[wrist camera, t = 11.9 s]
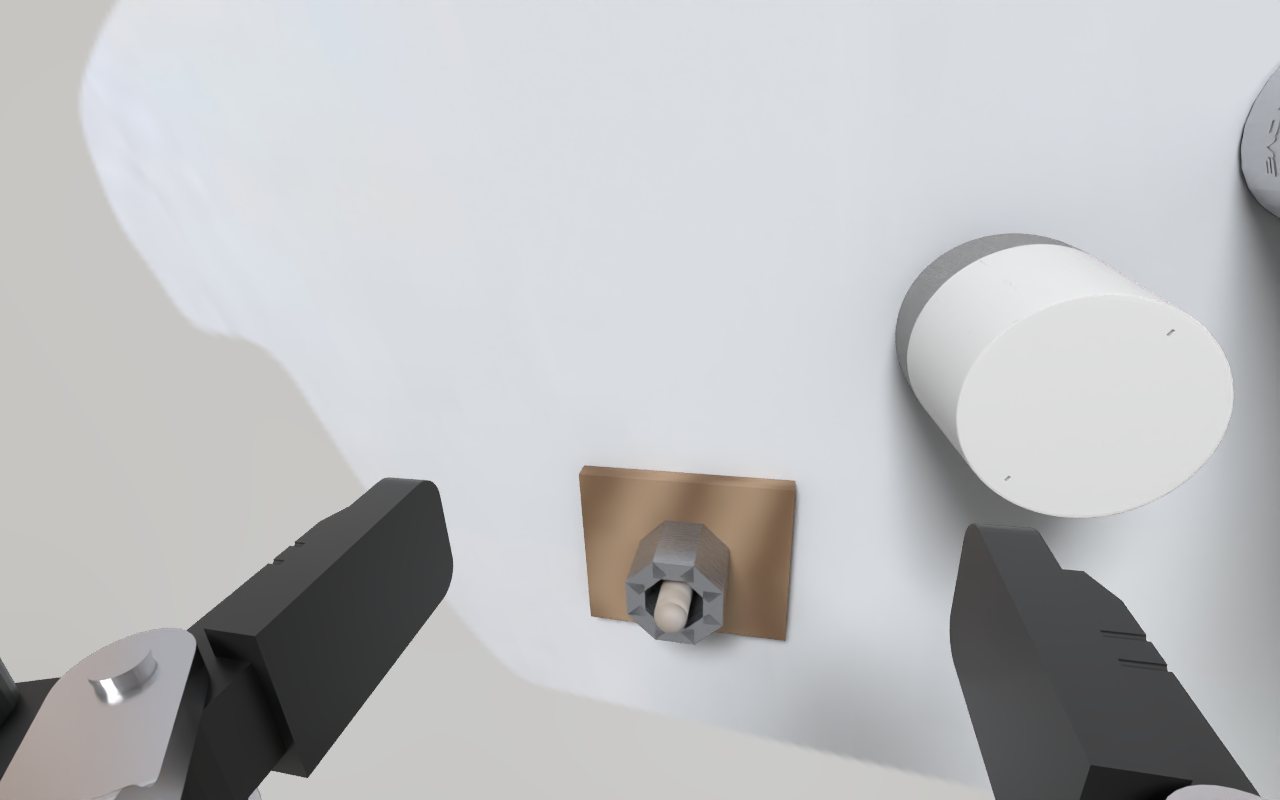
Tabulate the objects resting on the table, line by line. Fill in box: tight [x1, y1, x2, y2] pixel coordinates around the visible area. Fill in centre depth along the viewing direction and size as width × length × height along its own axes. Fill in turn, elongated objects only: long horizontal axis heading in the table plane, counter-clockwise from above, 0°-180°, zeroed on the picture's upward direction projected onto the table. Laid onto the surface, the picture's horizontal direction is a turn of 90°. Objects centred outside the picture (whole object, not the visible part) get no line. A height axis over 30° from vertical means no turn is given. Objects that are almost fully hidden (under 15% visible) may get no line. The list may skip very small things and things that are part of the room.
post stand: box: [579, 466, 795, 641], centre depth 40 cm, size 14×12×8 cm
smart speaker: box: [896, 234, 1234, 518], centre depth 27 cm, size 10×9×14 cm
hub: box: [625, 520, 729, 644], centre depth 40 cm, size 6×6×4 cm
